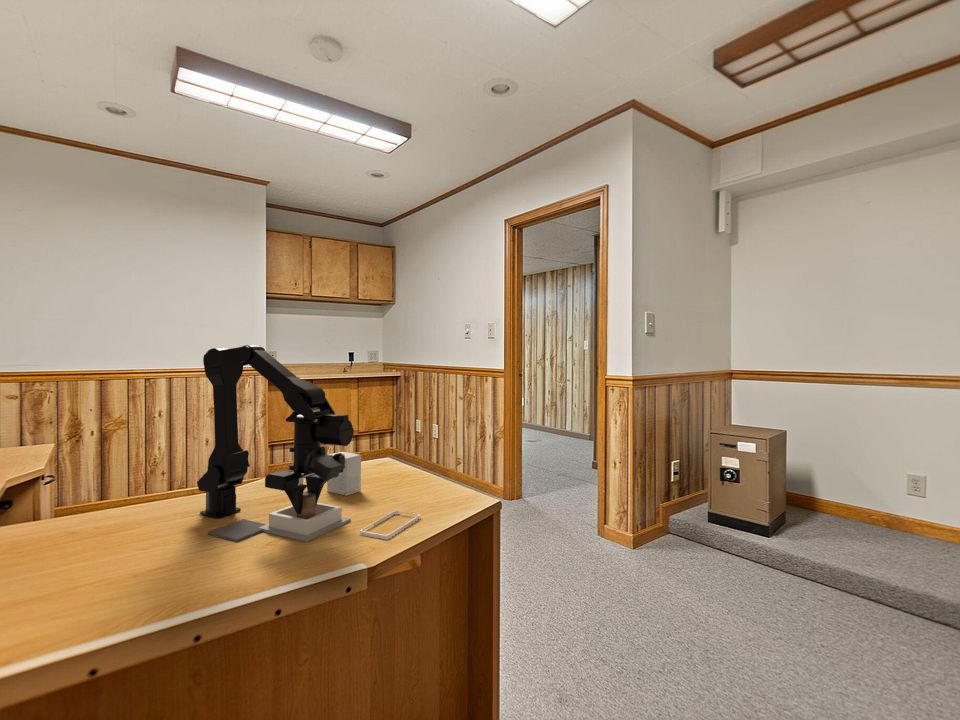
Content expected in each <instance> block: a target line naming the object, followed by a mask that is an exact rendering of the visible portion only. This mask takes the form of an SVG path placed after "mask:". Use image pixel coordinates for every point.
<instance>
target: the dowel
mask: <svg viewBox="0 0 960 720" xmlns="http://www.w3.org/2000/svg"><path fill="white" fill-rule="evenodd" d="M315 502H316V493H315V492H312V491H306V490H304V491H303V503H302V512H301V514H297V518H302V519H306V520H307V519H309V518H312V517H314V516H315Z"/></svg>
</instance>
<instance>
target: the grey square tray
mask: <svg viewBox="0 0 960 720" xmlns="http://www.w3.org/2000/svg"><path fill="white" fill-rule="evenodd" d="M350 522H351V517H345V516H342V506H338V505H332V504H328V503H322V502H318V501H317V504H316V507H315V516H314V517H312V518H309V519H307V520H306V519H302V518H297V513H296V511H295V509H294V507H293V505H292V504H290V505H288V506H286V507H283V508H280V509H278V510H274V511H273V512H270V513H268V523H265V524H266V525H264V526H261V527H258V528H260V529H263V532H262V533H268V534H271V535H276V536H281V537H285V538H289V539H293V540H298V541H302V542H306V543H308V542H310V541H312V540H314V539H316V538H318V537H320V536H322V535H325V534H327V533H329V532H331V531H333V530H335V529H337V528H339V527H341V526H343V525H345V524H348V523H350Z"/></svg>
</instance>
